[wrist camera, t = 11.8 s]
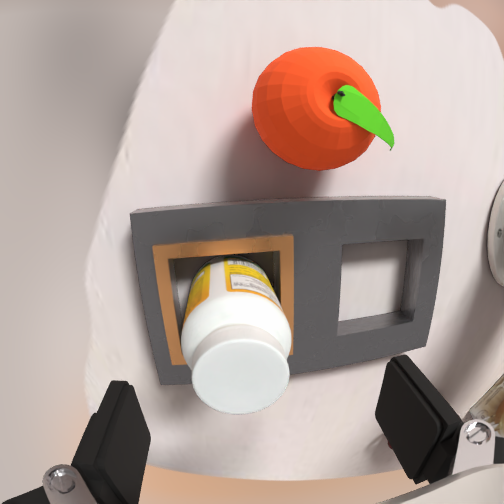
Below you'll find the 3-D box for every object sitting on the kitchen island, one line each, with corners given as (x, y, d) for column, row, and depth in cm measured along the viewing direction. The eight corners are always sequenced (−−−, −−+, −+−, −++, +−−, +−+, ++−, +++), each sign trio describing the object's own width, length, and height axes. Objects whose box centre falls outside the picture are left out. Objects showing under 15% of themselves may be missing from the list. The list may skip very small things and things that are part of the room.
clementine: (376, 111, 19) (439, 94, 12) (334, 196, 20) (390, 211, 13) (275, 50, 17) (304, 0, 10) (225, 138, 18) (232, 121, 12)
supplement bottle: (256, 242, 20) (292, 304, 11) (278, 313, 22) (318, 403, 13) (177, 267, 20) (152, 346, 11) (205, 335, 22) (204, 436, 12)
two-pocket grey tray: (429, 196, 21) (448, 200, 19) (413, 335, 24) (427, 347, 22) (137, 209, 19) (128, 214, 17) (164, 368, 22) (160, 387, 20)
